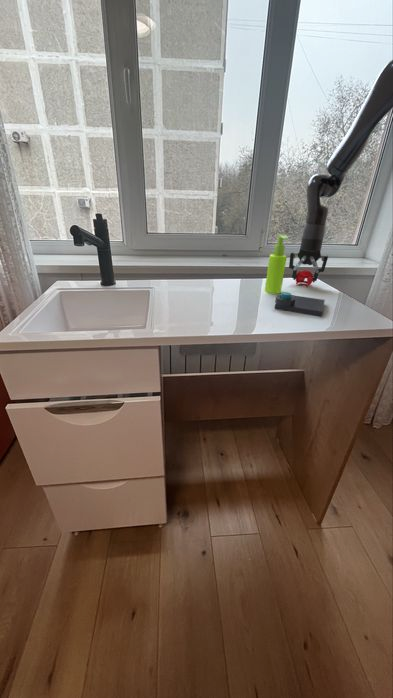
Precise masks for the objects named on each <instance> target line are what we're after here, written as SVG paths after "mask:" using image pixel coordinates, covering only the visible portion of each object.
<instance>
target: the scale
mask: <svg viewBox="0 0 393 698" xmlns="http://www.w3.org/2000/svg"><path fill="white" fill-rule="evenodd" d="M325 300H326V299H323V298H322V299H321V298H315V297H308V296H307V297H306V296H300V295H296V294H295V295H294V294H291V299H289V300H286V299H282V298H281V294H276V296H275V301H274V304H275V305H274V310H278V311H284V312H289V313H297V314H303V315H308V316H315V317H320V318H321V317H322V316H323V312H324V306H325Z"/></svg>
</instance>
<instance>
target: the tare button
mask: <svg viewBox="0 0 393 698" xmlns="http://www.w3.org/2000/svg"><path fill="white" fill-rule="evenodd" d="M280 295H281V298H282V299H286V300H289V299H291V295H292V293H291V292H288V291H281V293H280Z"/></svg>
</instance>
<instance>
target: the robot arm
mask: <svg viewBox="0 0 393 698" xmlns="http://www.w3.org/2000/svg"><path fill="white" fill-rule="evenodd" d="M392 109H393V59H391V60H390V61H389V62H387V64H386V65H385V66H384V67H383V68H382V69H381V71H380V73H379V74H378V76H377V78H376V79H375V81H374V83H373V85H372V87H371V89H370V91H369V93H368V95H367V97H366V98H365V101H364V102H363V105H362V106H361V108H360V110H359V112H358V113H357V116H356V118H355V119H354V121H353V123H352V125H351V127H350V128H349V129H348V131H347V133H346V134H345V136H344V138H343V139H342V140H341V142H339V143H340V144H339V145H338V146H337V148H336V149H335V150H334V152H333V154H332V155H331V156H330V158H329V159H328V161H327V163H326V171H327V173H328V174H327V173H326V174H325V173H324V174H322V173H321V174H320V173H317V174H313V175H312V176H311V177H310V178H309V180H308V181H307V184H306V202H307V203H306V206H307V213H306V219H305V224H304V227H303V229H302V230H303V231H302V236H301V241H300V247H299V251H298V252H294V251H292V252H291V253H290V254H289V262H288V264H289V265H288V268H289V269H291V270H292V275H291V278H292V280H293V281H296V275H297V273H298V269H299V268H300V267H301V265H307V266H312V268H313V269H314V274H313V281H312V283H315V282H317V281H318V276H319V273H324V272H325V269H326V265H327V262H328V259H329V255H328V254H326V255H324V254H322V253H321V252H322V251H321V250H322V246H323V243H324V242H323V241H324V237H325V232H326V225H327V221H328V215H329V207H328V206H327V205H324V204H322V203H321V199H329V198H332V197H333V196H335V195H336V194H337V193H338V192H339V190H340V189H341V186H342V184H343V182H344V181H345V178H346V176H347V173H348V172H349V171H350V169H351V168H352V167H353V166H354V164H356V162H357V160H359V158H360V157H361V155H362V154H363V152H364V150H365V148H366V146H367V144H368V142H369V139H370V137H371V135H372V134H373V132H374V130H375V128H376V127H378V125H379V123H380V122H381V121H382V120H383V119H384V118H385V117H386V115H388V113H389V112H391V110H392ZM297 257H298V259H299V260H298V262H297V264H296V265H294V259H296V258H297ZM320 259H321V262H322V264H321V267H320V268H319V265H318V262H317V261H319V260H320Z"/></svg>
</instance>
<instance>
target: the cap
mask: <svg viewBox="0 0 393 698" xmlns="http://www.w3.org/2000/svg"><path fill="white" fill-rule="evenodd" d="M313 278H314V274H313V272H312V271H310V270H306V269H305V270H301V271H300V270H299V271H297V274H296V279H295V284H296V285H298V284H300V283H301V284H305V286H306V287H309V286H311V285H312V283H313Z"/></svg>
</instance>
